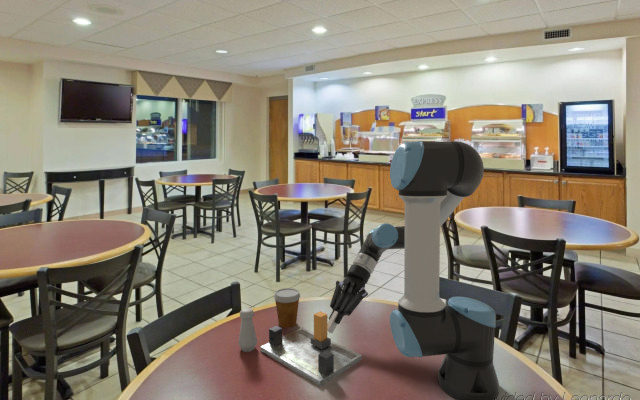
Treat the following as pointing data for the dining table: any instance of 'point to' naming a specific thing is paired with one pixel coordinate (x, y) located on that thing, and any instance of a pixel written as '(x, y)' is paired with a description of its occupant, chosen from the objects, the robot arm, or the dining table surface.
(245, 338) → the salt shaker
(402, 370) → the dining table surface
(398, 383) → the dining table surface
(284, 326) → the disposable coffee cup
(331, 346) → the tray
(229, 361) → the dining table surface
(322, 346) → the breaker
